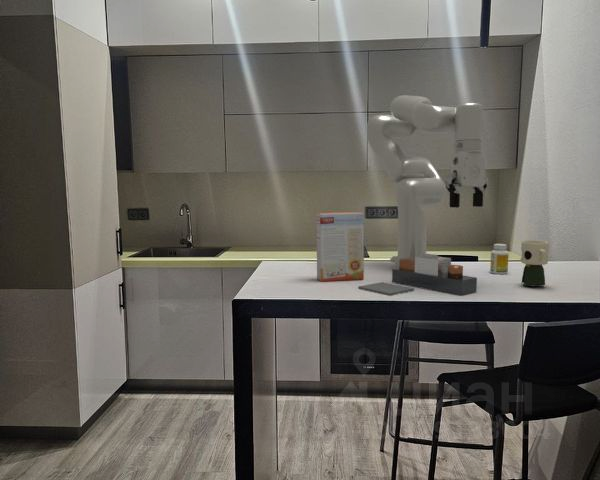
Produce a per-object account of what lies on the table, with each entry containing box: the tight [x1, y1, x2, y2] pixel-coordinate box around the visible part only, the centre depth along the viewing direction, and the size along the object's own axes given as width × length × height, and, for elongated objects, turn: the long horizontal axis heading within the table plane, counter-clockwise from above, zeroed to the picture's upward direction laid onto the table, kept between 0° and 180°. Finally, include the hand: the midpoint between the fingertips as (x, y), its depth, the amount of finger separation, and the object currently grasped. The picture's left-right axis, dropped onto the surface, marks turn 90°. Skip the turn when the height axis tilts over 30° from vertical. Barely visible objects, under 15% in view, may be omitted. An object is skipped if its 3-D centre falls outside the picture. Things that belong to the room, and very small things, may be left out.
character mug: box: [520, 239, 550, 288], centre depth 143 cm, size 11×7×13 cm, turn 2°
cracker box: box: [315, 211, 365, 282], centre depth 155 cm, size 14×6×21 cm, turn 101°
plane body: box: [391, 258, 478, 296], centre depth 143 cm, size 24×7×7 cm, turn 39°
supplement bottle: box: [489, 243, 509, 275], centre depth 165 cm, size 5×5×10 cm
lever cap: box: [415, 253, 452, 276], centre depth 143 cm, size 8×6×5 cm
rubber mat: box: [357, 281, 415, 296], centre depth 140 cm, size 12×10×1 cm
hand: (466, 206), depth 146 cm, fingers open, 9 cm apart
